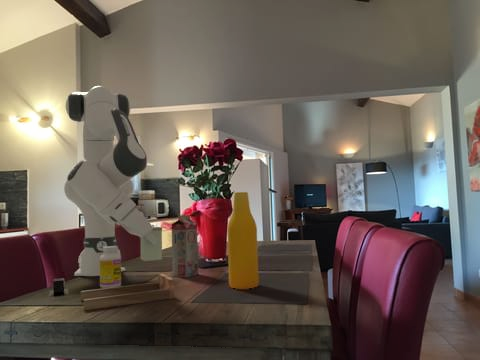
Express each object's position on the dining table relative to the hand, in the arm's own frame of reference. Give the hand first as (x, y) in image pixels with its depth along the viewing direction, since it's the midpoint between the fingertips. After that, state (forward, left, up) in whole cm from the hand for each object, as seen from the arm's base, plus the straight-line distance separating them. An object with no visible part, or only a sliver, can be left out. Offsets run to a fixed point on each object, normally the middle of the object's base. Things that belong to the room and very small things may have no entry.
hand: (153, 242), depth 111 cm
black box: (-21, -24, -16) cm, 36 cm away
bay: (0, -8, -15) cm, 17 cm away
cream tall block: (0, -1, -5) cm, 5 cm away
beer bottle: (+4, +27, -15) cm, 31 cm away
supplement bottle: (-21, -9, -15) cm, 28 cm away
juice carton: (-26, +18, -15) cm, 35 cm away
